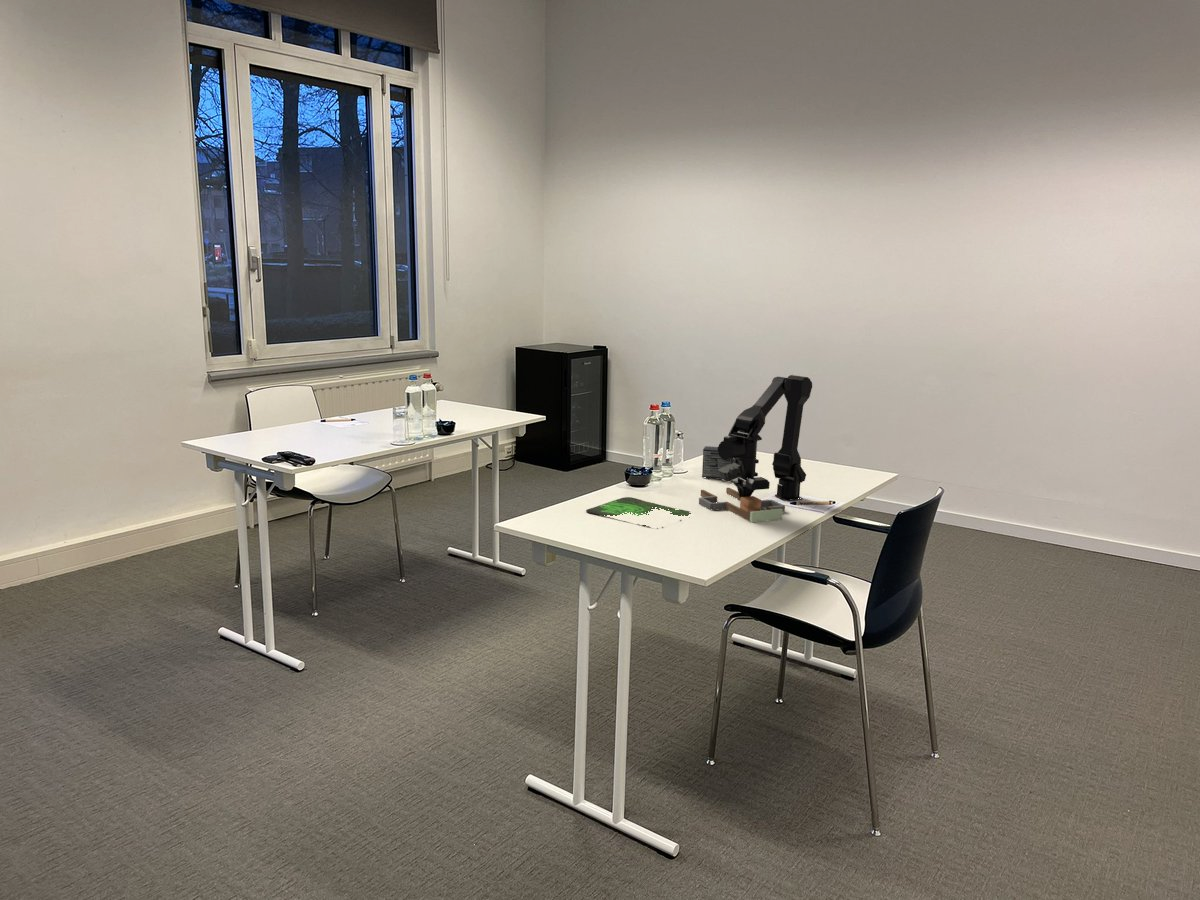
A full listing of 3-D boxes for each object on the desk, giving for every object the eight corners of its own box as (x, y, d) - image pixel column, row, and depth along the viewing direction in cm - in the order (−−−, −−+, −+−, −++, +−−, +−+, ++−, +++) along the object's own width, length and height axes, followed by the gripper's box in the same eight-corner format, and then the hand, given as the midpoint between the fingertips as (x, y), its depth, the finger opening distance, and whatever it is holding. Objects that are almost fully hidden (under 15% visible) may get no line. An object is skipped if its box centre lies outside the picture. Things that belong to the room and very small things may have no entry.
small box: (733, 476, 314) (735, 447, 312) (731, 480, 308) (733, 451, 306) (703, 473, 317) (705, 445, 315) (701, 478, 311) (702, 448, 309)
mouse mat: (699, 514, 267) (699, 511, 267) (659, 531, 250) (659, 527, 249) (625, 498, 283) (625, 495, 282) (582, 513, 265) (582, 510, 265)
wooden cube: (752, 510, 272) (753, 496, 271) (760, 514, 268) (761, 499, 267) (739, 511, 270) (740, 497, 269) (747, 515, 266) (748, 500, 265)
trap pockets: (755, 498, 286) (755, 492, 285) (785, 512, 270) (785, 506, 270) (698, 503, 278) (698, 497, 277) (725, 518, 262) (725, 511, 262)
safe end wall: (780, 518, 264) (780, 508, 263) (782, 519, 263) (782, 509, 262) (749, 521, 260) (750, 511, 259) (751, 522, 259) (752, 512, 258)
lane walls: (728, 493, 291) (729, 487, 290) (780, 518, 264) (780, 511, 263) (700, 495, 287) (700, 489, 286) (749, 521, 260) (750, 514, 259)
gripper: (708, 450, 274) (705, 499, 278) (739, 464, 258) (736, 515, 261) (739, 448, 279) (736, 496, 282) (772, 461, 262) (768, 512, 265)
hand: (743, 505), depth 272 cm, fingers closed
